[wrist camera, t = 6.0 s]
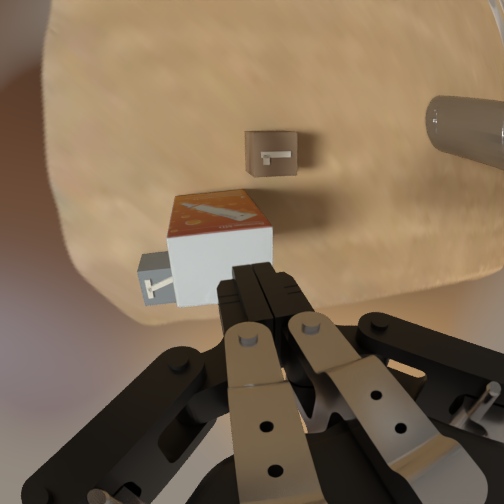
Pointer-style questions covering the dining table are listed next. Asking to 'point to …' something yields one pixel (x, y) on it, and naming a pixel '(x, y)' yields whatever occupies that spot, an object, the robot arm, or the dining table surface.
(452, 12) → the dining table surface
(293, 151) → the walnut block one
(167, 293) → the slate block seven
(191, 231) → the small box
